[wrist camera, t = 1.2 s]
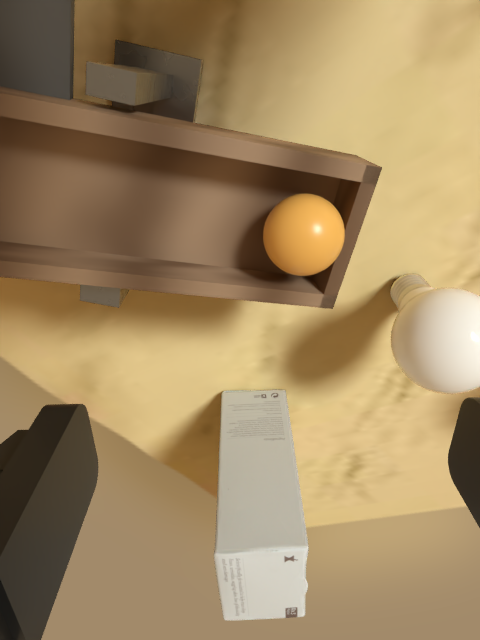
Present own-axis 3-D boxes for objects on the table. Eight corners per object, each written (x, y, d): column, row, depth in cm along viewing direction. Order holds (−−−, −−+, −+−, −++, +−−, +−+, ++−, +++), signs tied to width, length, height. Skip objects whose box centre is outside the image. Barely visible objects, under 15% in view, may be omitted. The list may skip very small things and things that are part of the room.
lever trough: (433, -94, 18) (482, -119, 15) (314, 283, 26) (332, 308, 24) (-137, -316, 13) (-208, -410, 10) (-60, 242, 21) (-88, 268, 19)
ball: (266, 178, 22) (283, 199, 18) (339, 191, 23) (369, 214, 19) (250, 252, 24) (262, 283, 20) (318, 262, 25) (341, 294, 21)
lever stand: (203, 60, 26) (177, 49, 17) (175, 259, 32) (145, 330, 23) (120, 40, 26) (47, 19, 17) (108, 246, 32) (50, 313, 23)
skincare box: (220, 389, 38) (206, 549, 25) (289, 386, 38) (310, 547, 25) (227, 457, 42) (218, 626, 29) (290, 456, 42) (308, 625, 29)
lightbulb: (456, 305, 34) (539, 395, 24) (376, 333, 35) (424, 429, 25) (438, 233, 31) (523, 301, 21) (352, 266, 32) (396, 345, 23)
